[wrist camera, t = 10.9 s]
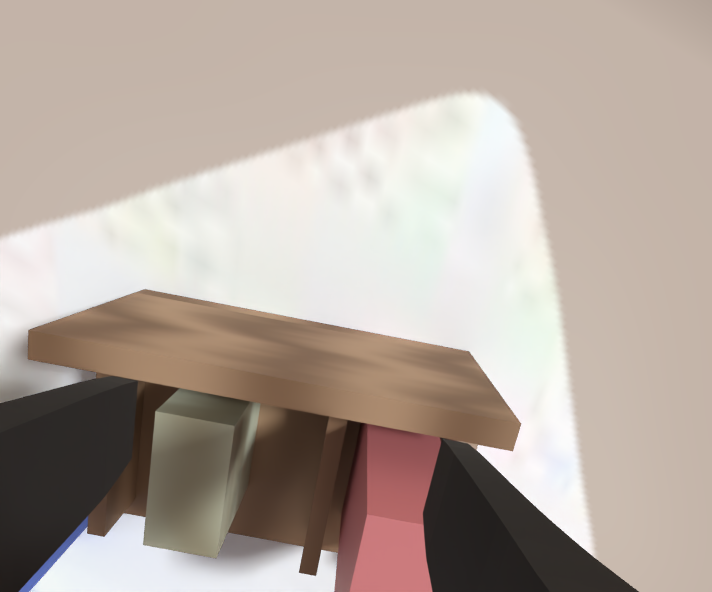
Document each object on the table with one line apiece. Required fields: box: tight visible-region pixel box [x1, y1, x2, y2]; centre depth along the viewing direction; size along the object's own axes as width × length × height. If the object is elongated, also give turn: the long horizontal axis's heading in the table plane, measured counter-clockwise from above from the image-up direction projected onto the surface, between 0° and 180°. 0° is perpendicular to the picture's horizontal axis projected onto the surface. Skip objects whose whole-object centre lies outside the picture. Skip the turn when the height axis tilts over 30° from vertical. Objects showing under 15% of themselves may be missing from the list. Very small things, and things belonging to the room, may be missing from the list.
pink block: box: [334, 423, 441, 592], centre depth 16 cm, size 3×7×8 cm, turn 169°
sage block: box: [143, 388, 261, 558], centre depth 18 cm, size 3×6×4 cm, turn 169°
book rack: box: [28, 289, 521, 576], centre depth 17 cm, size 16×12×7 cm
